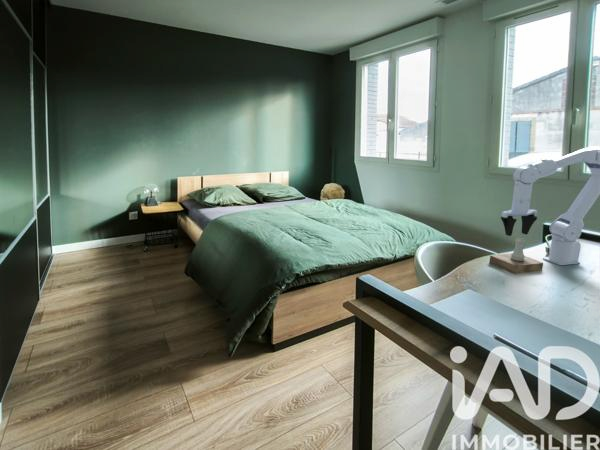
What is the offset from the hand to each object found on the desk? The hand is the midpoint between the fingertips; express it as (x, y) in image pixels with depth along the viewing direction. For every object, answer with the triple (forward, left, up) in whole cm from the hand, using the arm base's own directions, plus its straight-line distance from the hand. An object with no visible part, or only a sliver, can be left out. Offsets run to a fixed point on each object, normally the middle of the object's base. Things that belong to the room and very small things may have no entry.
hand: (516, 234), depth 140 cm
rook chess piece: (+5, +7, -8) cm, 11 cm away
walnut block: (+5, +6, -10) cm, 13 cm away
